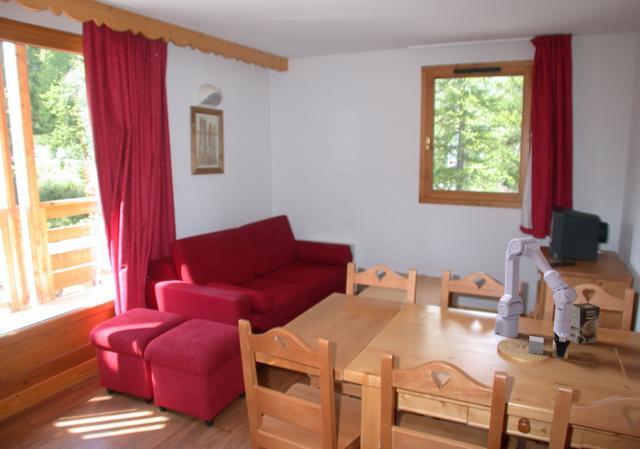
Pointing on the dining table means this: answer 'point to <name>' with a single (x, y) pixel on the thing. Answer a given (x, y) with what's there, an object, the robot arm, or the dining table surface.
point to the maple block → (556, 351)
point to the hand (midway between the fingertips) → (559, 352)
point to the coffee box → (584, 323)
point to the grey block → (536, 345)
